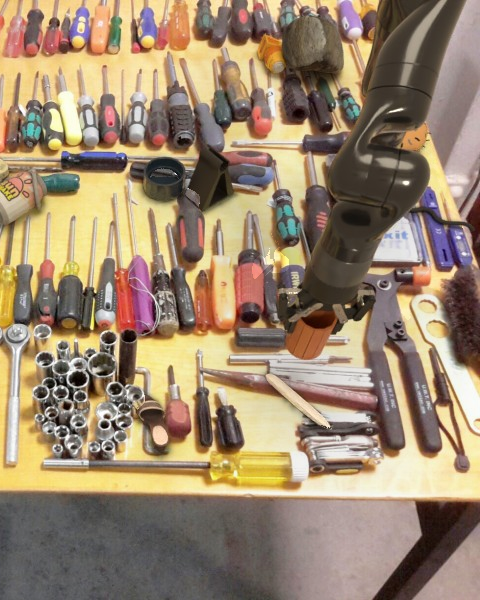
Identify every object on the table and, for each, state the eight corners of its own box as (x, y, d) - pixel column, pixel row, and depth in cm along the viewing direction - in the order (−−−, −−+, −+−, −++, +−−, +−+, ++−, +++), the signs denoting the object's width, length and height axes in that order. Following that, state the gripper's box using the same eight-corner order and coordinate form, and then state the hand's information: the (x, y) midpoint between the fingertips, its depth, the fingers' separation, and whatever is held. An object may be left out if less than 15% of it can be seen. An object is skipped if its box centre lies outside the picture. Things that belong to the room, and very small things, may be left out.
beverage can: (11, 237, 135) (54, 208, 139) (5, 211, 128) (51, 181, 132) (-14, 212, 139) (28, 185, 143) (-21, 186, 132) (24, 158, 136)
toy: (415, 116, 145) (424, 102, 140) (434, 151, 141) (445, 137, 137) (364, 129, 145) (372, 115, 140) (383, 164, 141) (391, 151, 136)
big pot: (183, 173, 142) (185, 156, 138) (184, 202, 137) (186, 186, 133) (143, 173, 143) (144, 156, 139) (143, 202, 138) (143, 185, 134)
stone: (270, 31, 154) (299, 32, 164) (288, 88, 155) (316, 86, 165) (316, 3, 145) (344, 6, 155) (336, 64, 145) (362, 64, 155)
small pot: (320, 329, 105) (334, 298, 98) (325, 360, 102) (340, 331, 94) (283, 328, 106) (294, 297, 98) (287, 359, 102) (299, 330, 95)
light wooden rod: (326, 435, 105) (329, 431, 103) (262, 378, 111) (263, 374, 110) (332, 429, 105) (335, 425, 104) (268, 373, 112) (270, 369, 111)
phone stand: (201, 211, 135) (207, 170, 125) (184, 195, 138) (188, 154, 128) (233, 193, 137) (241, 151, 128) (215, 178, 141) (222, 136, 131)
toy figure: (264, 76, 158) (256, 51, 166) (284, 80, 159) (276, 55, 166) (272, 57, 154) (264, 32, 161) (293, 61, 155) (284, 35, 162)
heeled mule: (157, 394, 111) (157, 384, 108) (176, 451, 105) (177, 442, 102) (132, 400, 111) (132, 390, 108) (151, 458, 105) (151, 449, 101)
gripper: (288, 285, 85) (266, 348, 98) (399, 287, 83) (361, 351, 97) (282, 242, 89) (262, 308, 103) (387, 243, 88) (353, 311, 101)
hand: (310, 329), depth 100 cm, fingers closed on small pot, 6 cm apart
